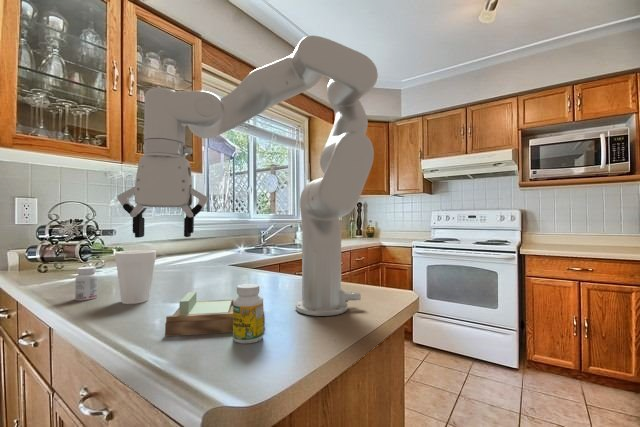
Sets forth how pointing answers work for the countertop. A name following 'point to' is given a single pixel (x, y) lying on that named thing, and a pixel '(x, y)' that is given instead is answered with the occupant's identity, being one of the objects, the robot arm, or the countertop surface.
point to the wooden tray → (200, 322)
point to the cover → (202, 306)
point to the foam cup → (135, 274)
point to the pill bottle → (86, 283)
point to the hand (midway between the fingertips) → (163, 236)
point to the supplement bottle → (247, 314)
